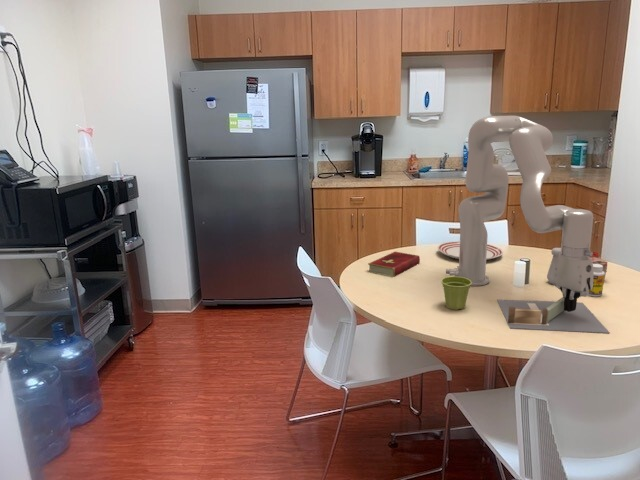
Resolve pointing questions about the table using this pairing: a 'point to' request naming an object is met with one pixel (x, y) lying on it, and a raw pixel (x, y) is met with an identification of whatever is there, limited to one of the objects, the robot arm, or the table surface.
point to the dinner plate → (454, 250)
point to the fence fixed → (526, 316)
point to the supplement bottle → (597, 280)
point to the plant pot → (456, 291)
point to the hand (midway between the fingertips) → (569, 310)
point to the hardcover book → (394, 263)
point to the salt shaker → (553, 265)
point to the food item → (599, 261)
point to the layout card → (562, 322)
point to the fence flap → (555, 309)
